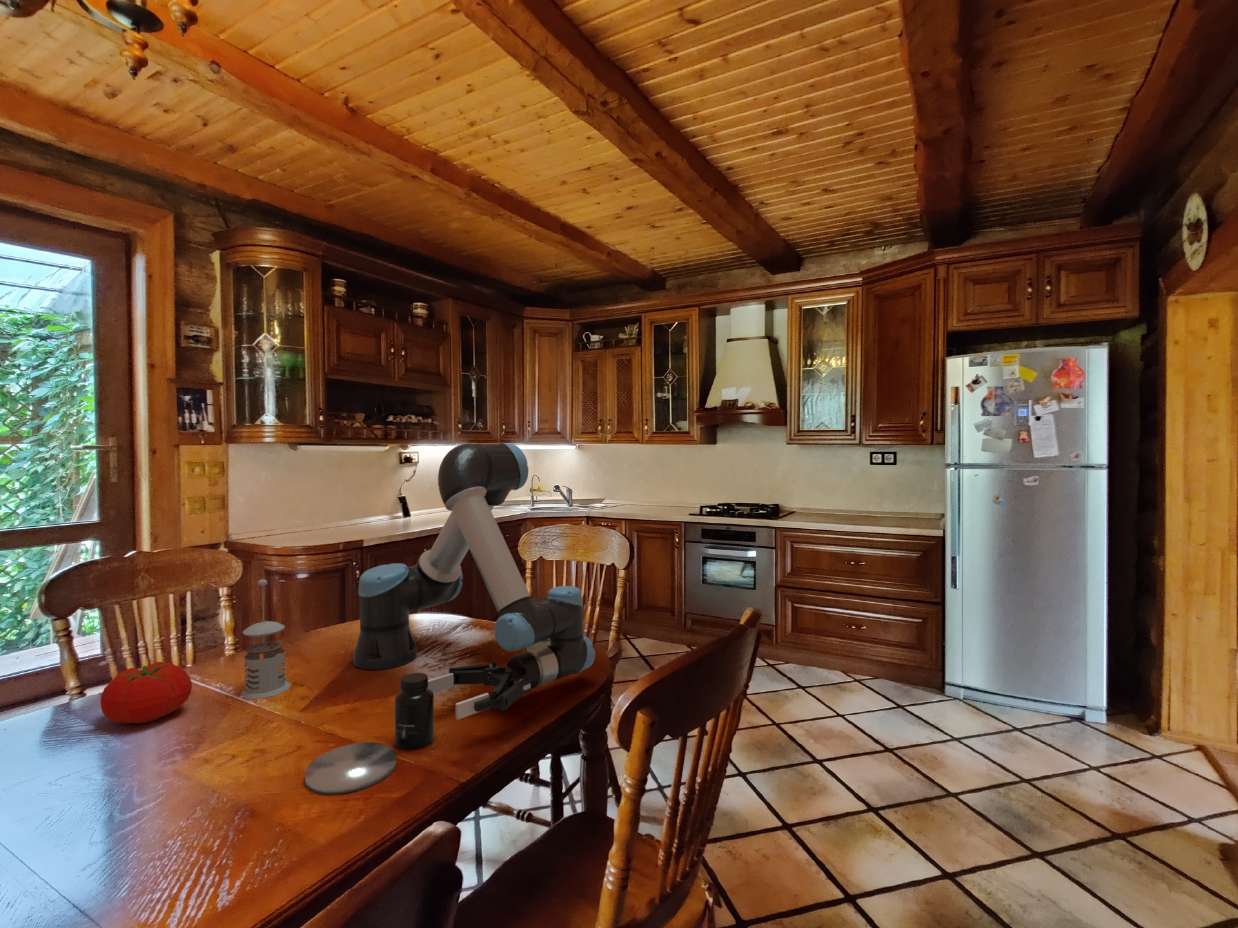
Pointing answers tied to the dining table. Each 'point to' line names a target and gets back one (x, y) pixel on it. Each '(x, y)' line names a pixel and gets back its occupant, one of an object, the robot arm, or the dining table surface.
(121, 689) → the tomato
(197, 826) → the dining table surface
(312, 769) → the hub disc
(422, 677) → the supplement bottle
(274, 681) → the french press
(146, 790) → the dining table surface
